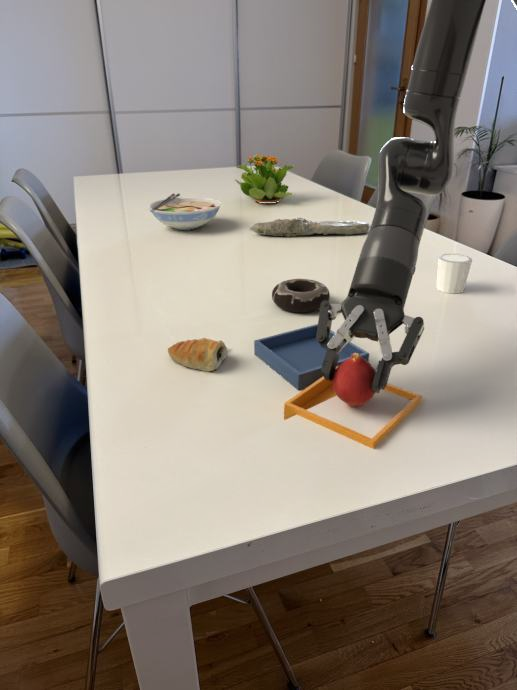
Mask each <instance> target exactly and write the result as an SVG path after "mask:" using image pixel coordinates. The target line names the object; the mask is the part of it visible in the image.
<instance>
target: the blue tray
mask: <svg viewBox="0 0 517 690" xmlns="http://www.w3.org/2000/svg"><path fill="white" fill-rule="evenodd" d="M317 327H318V323H315V324H312V325H308V326H305V327H304V326H303V327H301V328H300V327H299V328H297V329H293V330H289V331H285V332H281V333H278V334H274V335H270V336H267V337H262V338H258V339H254V340H253V342H254V343H253V347H254V349H253V350H254V352H253V353H254V356H256V357H257V356H258V357H259V358H258V357H257V358H258V359H259V360H261V361H262V360H263V361H264V362H265V363H264V362H263V361H262V362H263V363H264V364H265V365H266V366H268V365H269V366H270V367H271V368H270V367H269V366H268V367H269V368H270V369H271V370H273V371H274V370H275V371H276V372H275V371H274V372H275V373H276V374H277V375H279V376H280V375H281V376H282V377H281V376H280V377H281V378H282V379H284V380H285V381H286V382H287V383H288V384H289V385H291V386H292V387H293V388H295V389H296V390H297V391H302V390H304V389H306V388H307V387H309V386H310V385H311V384H313V383H314V382H316V381H317V380H319V379H320V378H321V377H323V376H324V375H323V373H322V372H321V367H322V364H323V360H324V357H325V354H326V349H325V348H323V347H321V346H320V344H319V343H318V341H317V340H316V334H317ZM335 334H336V332H335V331H333V330H331V331H330V339H331V338H332V337H333V336H334V335H335ZM353 353H358V354H359V355H360V356H361V357H362V358H363V359H365V360H367V361H368V362H369V361H370V360H369V359H370V353H369V352H368V351H366V350H364V349H363V348H361V347H359V346H358V345H357V344H354V343H353V342H352V341H351V342H350V343H348V344H346V345H345V347H344V348H343V349H342V350H341V351H340V352H339V353H338V355H339V360H338V363H337V366H339V365H340V364H341V363H342V362H343V361H345V360H347V359H349V358H351V354H353ZM369 363H370V362H369ZM337 366H336V367H337Z"/></svg>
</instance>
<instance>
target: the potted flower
mask: <svg viewBox="0 0 517 690" xmlns="http://www.w3.org/2000/svg"><path fill="white" fill-rule="evenodd" d="M247 160H248V161H247V163H248V164H249V166H250V167H248V166H247V165H246V164H239V165H238V166H235V168H236V169H241V170H242V171H244V172H242V173H241V179H242V180H243V181H242V182H241V181H239V180H237V179H236V178H234V181H235V182H236V183H237V184H238V185H240V186H239V187H240V190H241V192H242V193H243V194H244V196H245V195H246V196H247V197H249V198H251V199H254V201H257V202H277V201H280V202H281V200H282V199H283V198H286V197H289V196H292V195H293V193H292V192H289V185H287V184H282V182H283V180H284V179H285V177H286V176H287V172H288V171H289V170H291V169H294V168H296V165H293V164H291V165H287V164H286V165H284V166H283V167H282V168H281V167H279V168H278V169H277V167H278V165H277V164H278V163H279V161H278V158H277V156H271V155H267V156H265V155H261V156H260V154H257V153H256V154H254V156H253V157H252V156H249V157H247ZM252 164H253V165H254V166H253V167H252ZM254 172H255V173H254ZM281 198H282V199H281Z"/></svg>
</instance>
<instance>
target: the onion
mask: <svg viewBox="0 0 517 690" xmlns="http://www.w3.org/2000/svg"><path fill="white" fill-rule="evenodd" d="M375 373H376V369H375V368H374V366H373V365H372V364H371V363H370V362H368V361H367V360H365V359H363V358H362V357H361V356H360V355H359V354H358V353H353V354H351V358H349V359H347V360H345V361H343V362H342V363H341V364H340V365H339V366H338V367H337V368H336V370H335V372H334V374H333V381H332V383H333V389H334V391H335V393H336V395H337V396H336V397H337V398H338V399H340V401H342V402H344V403H345V404H346V405H347V406H349V407H350V408H356V407H358V406H361V405H364V404H366V403H368V402H369V401H370V400H372V399H373V398H374V396H375V395H376V394H377V393H376V392H373V390H372V384H373V380H374V377H375Z"/></svg>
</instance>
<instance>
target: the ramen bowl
mask: <svg viewBox="0 0 517 690" xmlns="http://www.w3.org/2000/svg"><path fill="white" fill-rule="evenodd" d="M221 205H222V202H221V201H220V200H218V199H216V198H215V199H214V198H208V197H197V196H196V197H195V196H191V197H188V196H187V197H181V194H180V193H177V194H176V193H171V194H170V195H169V196H168V197H166V198H164V199H160V200H156V201H153V202H150V203H149V204H148V205H147V208H148V209H149V211H150V213H151V214H152V215H153V216H154V217H155V219H157V220H158V221H159V223H161V224H163V225H165V226H168V227H171V228H174V229H176V230H178V231H192V230H196V229H198V228H199V227H202V226H203V225H205V224H207V223H209V222H211V221H212V220H213V219H214V218H216V215H217V214H218V212H219V210H220V208H221ZM195 228H196V229H195ZM191 229H192V230H191Z"/></svg>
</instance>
